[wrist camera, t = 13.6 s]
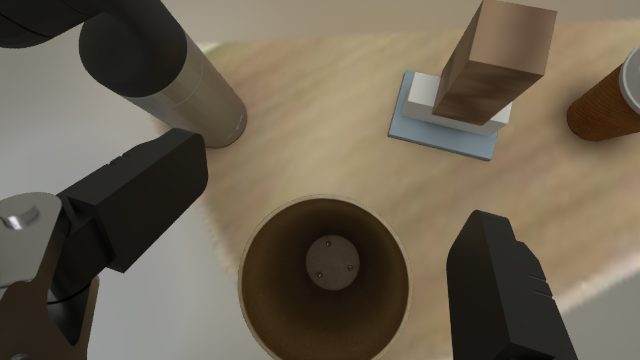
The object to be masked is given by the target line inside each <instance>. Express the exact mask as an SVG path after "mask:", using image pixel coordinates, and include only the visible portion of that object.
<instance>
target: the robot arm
mask: <svg viewBox="0 0 640 360" xmlns="http://www.w3.org/2000/svg"><path fill="white" fill-rule="evenodd" d="M83 22H84V24H83V26H82V29H81V32H80V37H79V54H80V58H81V61H82V63H83V66H84V67H85V69H86V70H87V71H88V73H89V74H90V75H91V76H92V77H93V78H94V79H95V80H96V81H97V82H99V83H100V84H102V85H103V86H105V87H107V88H108V89H110V90H112V91H113V92H115V93H117V94H118V95H120V96H122V97H123V98H125V99H127V100H128V101H130V102H132V103H133V104H135V105H137V106H139V107H140V108H142V109H143V110H145V111H147V112H148V113H150V114H152V115H153V116H155V117H157V118H158V119H160V120H162V121H163V122H165V123H167V124H168V125H170V126H172V127H173V129H171V130H170V131H168V132H166V133H165V134H163V135H162V136H160V137H159V138H157V139H154V140H151V141H149V142H145V143H142V144H139V145H137V146H135V147H133V148H132V149H130V150H129V151H127V152H125V153H124V154H123V155H122V157H121V156H119V157H117V158H116V159H114V160H112V161H111V162H110V164H106V165H104V166H102V167H101V168H99V169H98V170H96V171H94V172H93V173H91V174H89V175H88V176H86V177H85V178H83V179H81V180H80V181H78V182H76V183H75V184H73V185H72V186H70V187H68V188H67V189H65V190H64V191H62V192H60V193H59V194H57V195H53V194H50V193H42V192H35V193H25V194H20V195H15V196H13V197H9V198H6V199H3V200H1V201H0V360H87V348H88V342H89V337H90V331H91V326H92V321H93V315H94V309H95V304H96V299H97V294H98V288H99V281H100V280H99V276H98V274H99V273H100V272H101V271H102V270H103V269H104V268H105V267H107V268H110V269H113V270H115V271H118V272H121V273H124V272H125V271H126V270H127V269H128V268H129V267H130V266H131V265H132V264H133V263H134V262H135V261H136V260H137V259H138V258H139V257H140V256H141V255H142V254H143V253H144V252H145V251H146V250H147V249H148V248H149V247H150V246H151V245H152V244H153V243H154V242H155V241H156V240H157V239H158V238H159V237H160V236H161V235H162V234H163V233H164V232H165V231H166V230H167V229H168V228H169V227H170V226H171V225H172V224H173V223H174V222H175V221H176V220H177V219H178V218H179V217H180V216H181V215H182V214H183V213H184V211H186V209H188V208H189V207H190V205H191V204H192V203H193V202H194V201H195V200H196V199H197V198H198V197H199V196H200V195H201V194H202V193H203V192H204V190H205V188H206V185H207V182H208V169H207V160H206V150H205V146H206V147H210V148H221V147H224V146H227V145H229V144H231V143H233V142H234V141H235V140H236V139H238V137H239V136H240V135H241V134H242V132H243V130H244V128H245V125H246V122H247V112H246V108H245V106H244V104H243V102H242V101H241V99H240V98H239V97H238V96H237V94H236V93H235V92H234V91H233V89H232V88H231V87H230V86H229V84H228V83H227V82H226V81H225V79H224V78H223V77H222V76H221V75H220V73H219V72H218V71H217V70H216V68H215V67H214V66H213V65H212V63H211V62H210V61H209V60H208V59H207V57H206V56H205V55H204V54H203V52H202V51H201V50H200V49H199V48H198V46H197V45H196V44H195V43H194V42H193V40H192V39H191V38H190V37H189V36H188V34H187V33H186V32H185V31H184V29H183V28H182V27H181V26H180V24H179V23H178V22H177V21H176V19H175V18H174V17H173V16H172V15H171V13H170V12H169V11H168V10H167V8H166V7H165V6H164V4H163V3H162V2H161V1H160V0H0V47H2V48H18V49H19V48H27V47H31V46H35V45H39V44H41V43H44V42H46V41H48V40H50V39H52V38H54V37H56V36H58V35H60V34H62V33H64V32H66V31H68V30H69V29H71V28H73V27H75V26H77V25H79V24H81V23H83ZM446 271H447V284H448V297H449V310H450V323H451V335H452V348H453V360H578V358H577V356H576V353H575V350H574V348H573V345H572V343H571V341H570V338H569V335H568V333H567V330H566V328H565V325H564V323H563V320H562V318H561V315H560V313H559V310H558V308H557V305H556V303H555V300H554V299H552V296H553V295H552V293H551V290H550V288H549V285H548V283H546V282H545V281H546V278H545V275H544V272H543V270H542V267H541V265H540V262H539V260H538V259H537V258H536V257H535V255H534V254H533V253H532V252H531V251H530V249H529V248H528V247H527V246H526V245H525V243H524V242H520V241H516V239H515V236H514V233H513V230H512V227H511V224H510V222H509V220H508V219H507V218H506V217H502V216H498V215H495V214H491V213H487V212H484V211H480V210H474V211H473V212H472V213H471V215H470V216H469V218H468V219H467V221H466V223H465V225H464V226H463V228H462V230H461V231H460V233H459V235H458V236H457V238H456V240H455V242H454V243H453V245H452V247H451V249H450V251H449V254H448V258H447V264H446Z"/></svg>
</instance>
